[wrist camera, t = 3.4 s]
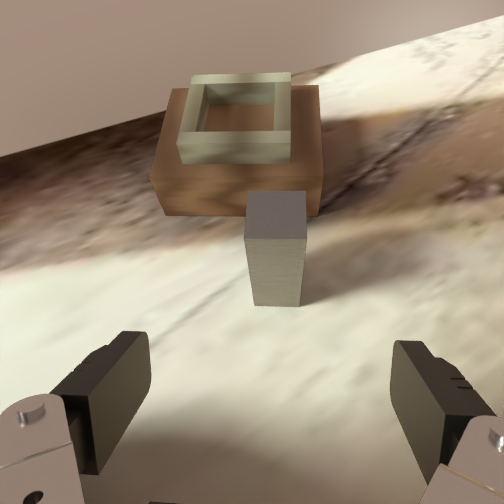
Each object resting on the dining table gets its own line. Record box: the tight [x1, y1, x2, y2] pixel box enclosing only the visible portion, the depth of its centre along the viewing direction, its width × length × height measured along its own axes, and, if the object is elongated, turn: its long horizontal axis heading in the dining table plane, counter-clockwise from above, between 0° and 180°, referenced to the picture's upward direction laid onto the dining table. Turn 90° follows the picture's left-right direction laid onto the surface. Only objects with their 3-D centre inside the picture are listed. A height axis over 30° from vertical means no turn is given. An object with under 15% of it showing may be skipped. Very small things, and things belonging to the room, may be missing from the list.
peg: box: [244, 191, 307, 307], centre depth 29 cm, size 4×4×11 cm
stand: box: [148, 72, 324, 217], centre depth 38 cm, size 16×13×8 cm
